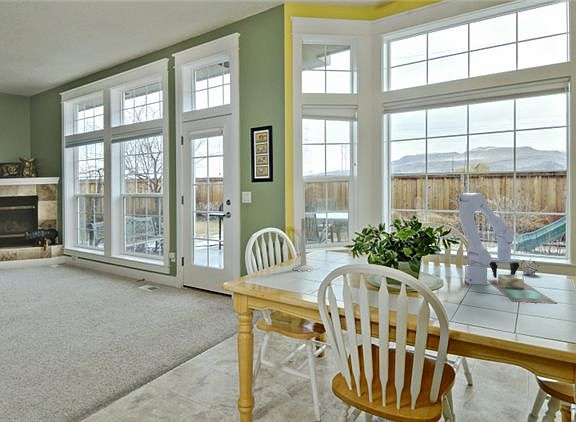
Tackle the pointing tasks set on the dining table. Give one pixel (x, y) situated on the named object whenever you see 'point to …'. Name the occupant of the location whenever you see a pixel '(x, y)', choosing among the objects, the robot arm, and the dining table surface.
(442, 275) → the dining table surface
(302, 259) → the candlestick
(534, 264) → the game die
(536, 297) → the shallow brown tray
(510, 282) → the birch block
